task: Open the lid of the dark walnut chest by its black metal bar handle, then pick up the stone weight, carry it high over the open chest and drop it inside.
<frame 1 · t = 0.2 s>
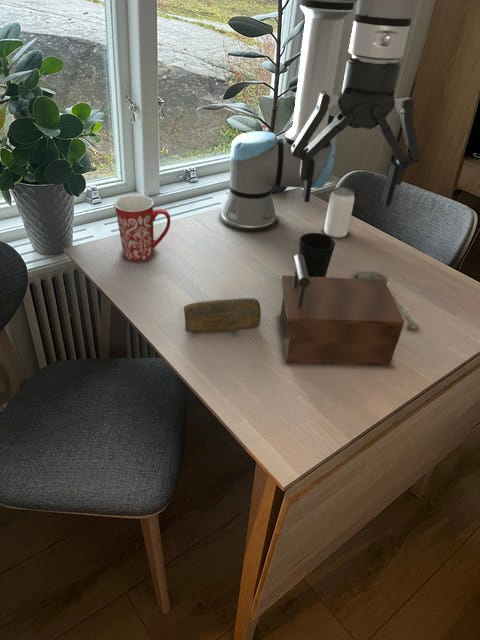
hand: (345, 200, 80), 28 cm above the table, tool pointing down, fingers open, 13 cm apart
lid: (342, 284, 86), point 13 cm above the table, hinge at 0.0°
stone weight: (221, 328, 96), on the table
can: (335, 233, 132), on the table
chest: (331, 341, 94), on the table
soupspoon: (386, 301, 107), on the table
cup: (309, 288, 109), on the table
mug: (145, 255, 117), on the table
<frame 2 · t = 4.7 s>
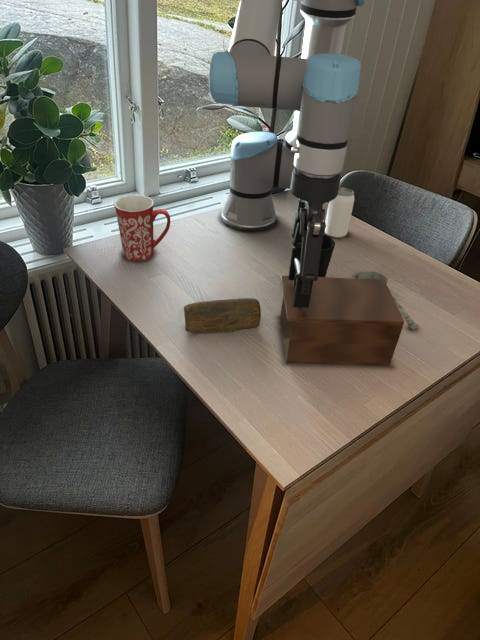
hand: (297, 292, 87), 11 cm above the table, tool pointing down, fingers closed on lid, 8 cm apart
lid: (342, 284, 86), point 13 cm above the table, hinge at 0.0°, touching gripper
everything else where it was.
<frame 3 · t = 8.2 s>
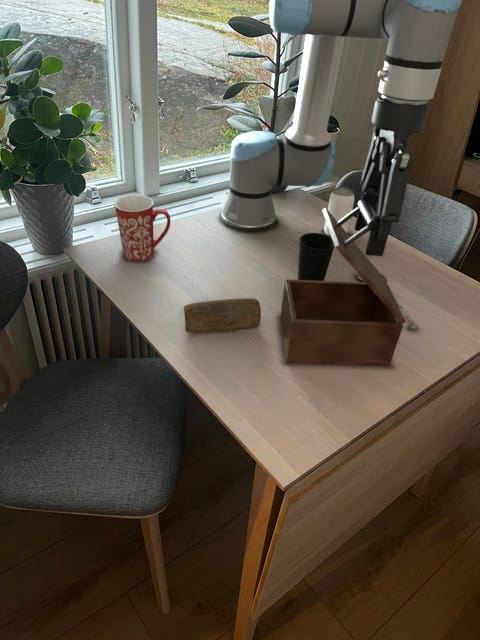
hand: (367, 241, 81), 22 cm above the table, tool pointing down, fingers closed on lid, 8 cm apart
lid: (379, 254, 83), point 20 cm above the table, hinge at 45.3°, touching gripper
everything else where it was.
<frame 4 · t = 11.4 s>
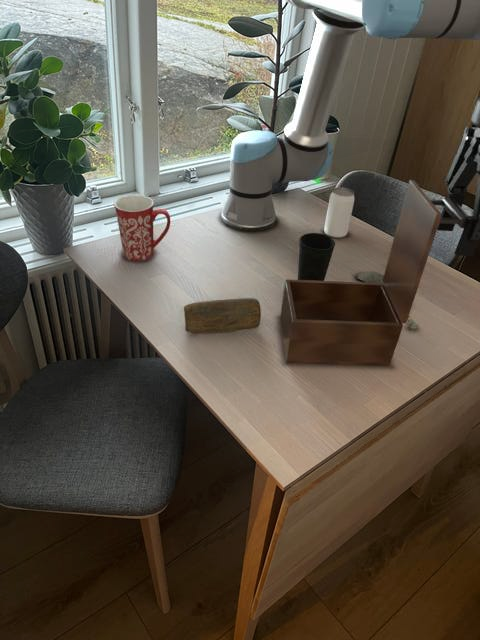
hand: (453, 241, 81), 23 cm above the table, tool pointing down, fingers closed on lid, 8 cm apart
lid: (426, 253, 82), point 21 cm above the table, hinge at 89.3°, touching gripper
everything else where it was.
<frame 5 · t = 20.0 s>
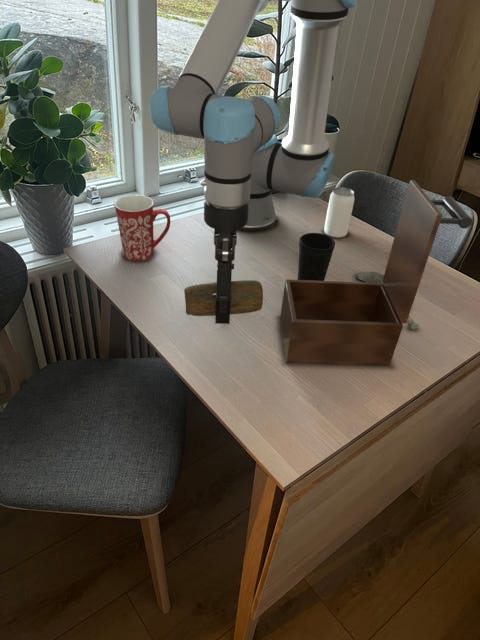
hand: (222, 310, 93), 4 cm above the table, tool pointing down, fingers closed on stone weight, 7 cm apart
lid: (426, 253, 82), point 21 cm above the table, hinge at 89.6°
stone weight: (222, 312, 94), point 4 cm above the table, touching gripper
everything else where it was.
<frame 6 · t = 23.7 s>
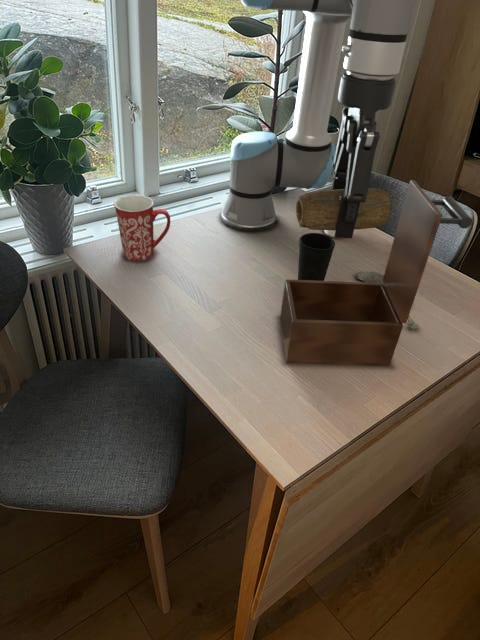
hand: (339, 225, 79), 25 cm above the table, tool pointing down, fingers closed on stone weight, 7 cm apart
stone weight: (338, 228, 80), point 24 cm above the table, touching gripper
everything else where it was.
when the fingers open (10 cm above the table, at t = 27.4 s): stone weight drops 9 cm, resting on chest.
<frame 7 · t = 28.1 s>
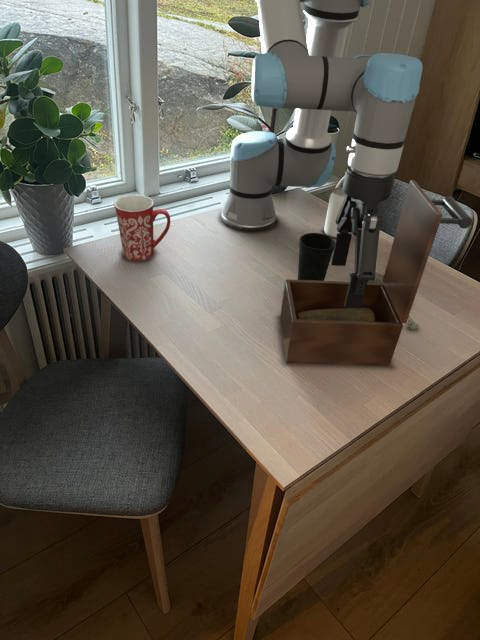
hand: (344, 284, 86), 13 cm above the table, tool pointing down, fingers open, 13 cm apart
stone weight: (330, 337, 94), point 1 cm above the table, touching chest
everything else where it was.
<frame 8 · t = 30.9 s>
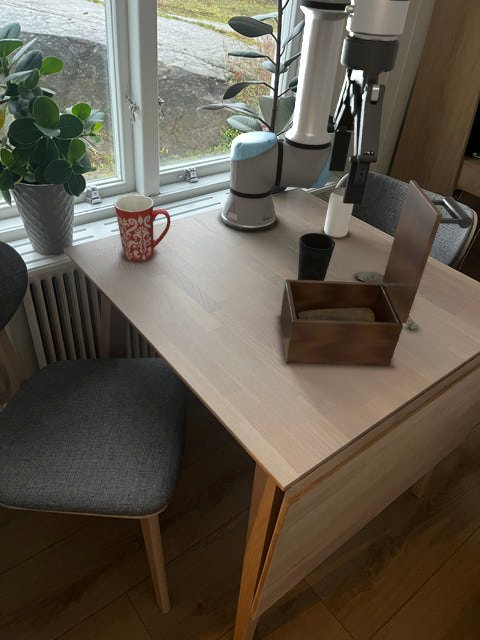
hand: (343, 185, 78), 31 cm above the table, tool pointing down, fingers open, 13 cm apart
nothing on the table moved.
at the end: lid at +90° (first picture: +0°); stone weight inside the target area in the chest (0.4 cm from its centre), point 0.6 cm above the chest's base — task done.
